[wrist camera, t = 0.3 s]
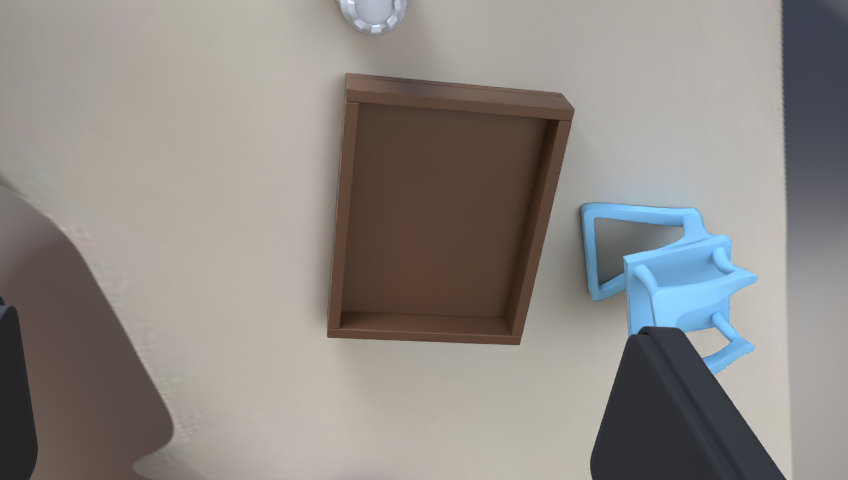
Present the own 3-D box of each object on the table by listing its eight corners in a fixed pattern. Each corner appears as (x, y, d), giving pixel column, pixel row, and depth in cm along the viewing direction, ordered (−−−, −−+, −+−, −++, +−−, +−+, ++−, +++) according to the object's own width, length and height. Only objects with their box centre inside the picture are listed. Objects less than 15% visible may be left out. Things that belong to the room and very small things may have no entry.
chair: (697, 271, 55) (782, 376, 45) (587, 295, 55) (647, 406, 45) (697, 178, 51) (790, 270, 41) (579, 204, 51) (641, 302, 41)
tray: (346, 72, 45) (346, 88, 42) (561, 93, 47) (575, 108, 44) (327, 312, 53) (327, 338, 51) (511, 321, 55) (519, 345, 53)
